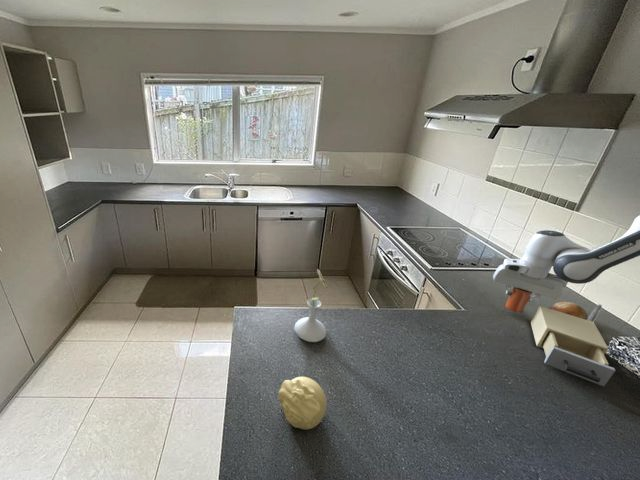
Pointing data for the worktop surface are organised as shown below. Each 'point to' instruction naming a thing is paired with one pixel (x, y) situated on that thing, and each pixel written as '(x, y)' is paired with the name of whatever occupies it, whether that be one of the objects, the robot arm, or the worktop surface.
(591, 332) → the box
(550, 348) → the drawer
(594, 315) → the screw
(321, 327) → the flower in vase
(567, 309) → the bread roll
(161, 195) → the worktop surface
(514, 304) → the cup
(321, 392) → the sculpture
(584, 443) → the worktop surface
